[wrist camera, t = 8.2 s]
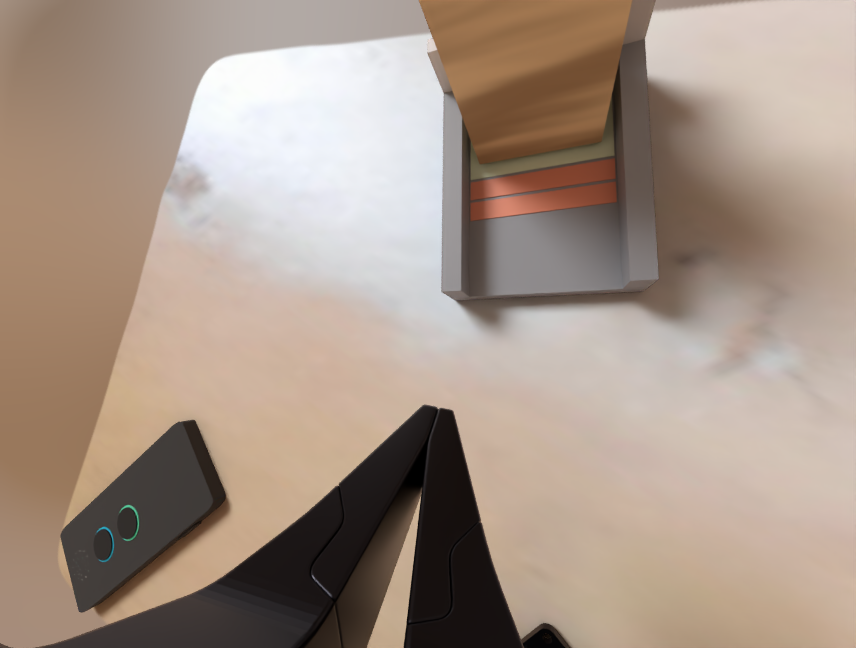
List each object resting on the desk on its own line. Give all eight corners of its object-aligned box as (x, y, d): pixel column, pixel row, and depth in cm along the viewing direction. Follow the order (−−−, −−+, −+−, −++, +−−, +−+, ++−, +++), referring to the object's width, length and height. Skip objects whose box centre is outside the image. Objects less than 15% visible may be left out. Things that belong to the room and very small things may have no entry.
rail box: (643, 291, 19) (680, 261, 14) (455, 300, 23) (423, 280, 17) (631, 70, 21) (660, -38, 15) (456, 113, 24) (427, 39, 19)
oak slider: (601, 141, 19) (674, -195, 8) (479, 164, 22) (394, -65, 10) (598, 77, 20) (664, -334, 8) (479, 106, 22) (398, -178, 10)
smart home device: (56, 531, 33) (178, 416, 29) (79, 524, 35) (198, 414, 31) (77, 619, 31) (214, 507, 27) (101, 606, 32) (233, 498, 28)
